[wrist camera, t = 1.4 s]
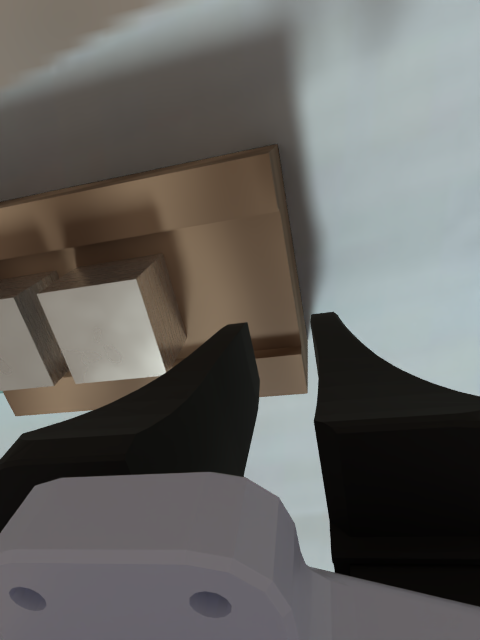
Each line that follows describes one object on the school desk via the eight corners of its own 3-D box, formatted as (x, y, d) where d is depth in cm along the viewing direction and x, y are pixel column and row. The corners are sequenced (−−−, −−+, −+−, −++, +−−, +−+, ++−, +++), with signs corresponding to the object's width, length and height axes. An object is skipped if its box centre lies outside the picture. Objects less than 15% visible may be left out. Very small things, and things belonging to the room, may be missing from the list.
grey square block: (162, 253, 17) (136, 279, 15) (187, 338, 19) (167, 375, 16) (76, 267, 18) (36, 293, 15) (106, 347, 20) (75, 384, 17)
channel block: (277, 143, 18) (268, 152, 14) (307, 341, 22) (307, 393, 18) (-9, 203, 22) (-85, 225, 17) (62, 367, 26) (15, 416, 22)
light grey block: (56, 270, 18) (13, 297, 16) (88, 349, 20) (54, 385, 17) (-21, 282, 19) (-74, 310, 16) (16, 357, 21) (-27, 393, 18)
